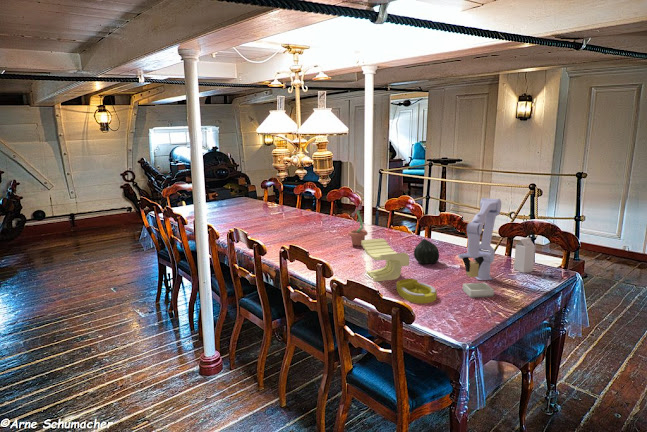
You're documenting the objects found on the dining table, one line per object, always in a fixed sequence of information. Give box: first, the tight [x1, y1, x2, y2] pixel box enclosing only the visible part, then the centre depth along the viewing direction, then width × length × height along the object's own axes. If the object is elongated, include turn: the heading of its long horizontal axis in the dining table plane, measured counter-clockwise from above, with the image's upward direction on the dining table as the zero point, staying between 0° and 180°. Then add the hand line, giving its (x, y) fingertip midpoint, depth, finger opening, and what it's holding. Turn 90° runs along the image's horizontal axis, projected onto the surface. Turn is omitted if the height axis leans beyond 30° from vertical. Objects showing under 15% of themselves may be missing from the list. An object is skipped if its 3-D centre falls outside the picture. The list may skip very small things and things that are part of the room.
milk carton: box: [513, 237, 536, 274], centre depth 236 cm, size 7×7×19 cm
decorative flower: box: [347, 203, 369, 247], centre depth 295 cm, size 15×14×30 cm
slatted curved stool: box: [360, 238, 410, 282], centre depth 232 cm, size 30×16×18 cm, turn 15°
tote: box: [462, 282, 495, 298], centre depth 207 cm, size 10×12×4 cm
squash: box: [413, 238, 440, 265], centre depth 255 cm, size 14×15×15 cm
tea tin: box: [465, 260, 479, 278], centre depth 213 cm, size 4×4×7 cm
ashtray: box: [396, 278, 438, 304], centre depth 207 cm, size 16×21×5 cm
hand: (472, 271), depth 213 cm, fingers closed on tea tin, 4 cm apart
